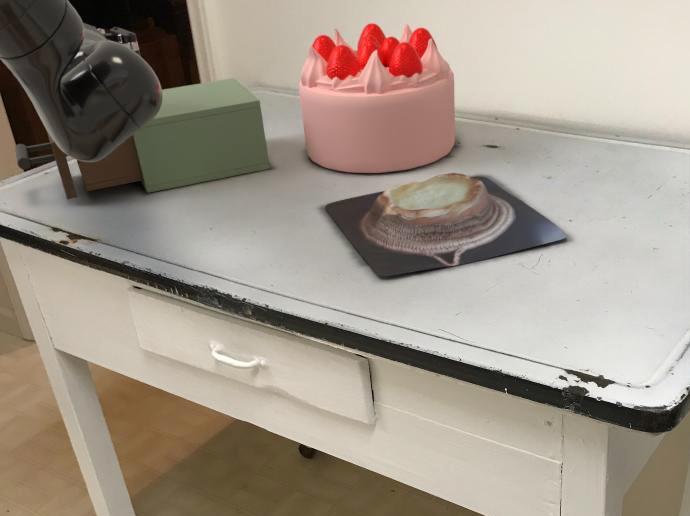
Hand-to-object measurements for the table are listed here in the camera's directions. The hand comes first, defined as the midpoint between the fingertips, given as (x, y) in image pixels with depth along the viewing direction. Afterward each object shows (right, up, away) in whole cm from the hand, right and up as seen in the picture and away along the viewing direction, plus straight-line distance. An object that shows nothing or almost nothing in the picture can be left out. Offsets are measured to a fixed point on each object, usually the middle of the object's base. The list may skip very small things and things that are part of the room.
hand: (67, 39), depth 100 cm
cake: (+37, -9, +13) cm, 40 cm away
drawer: (+2, -14, +7) cm, 16 cm away
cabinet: (+13, -12, +11) cm, 21 cm away
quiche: (+43, -23, -8) cm, 50 cm away
